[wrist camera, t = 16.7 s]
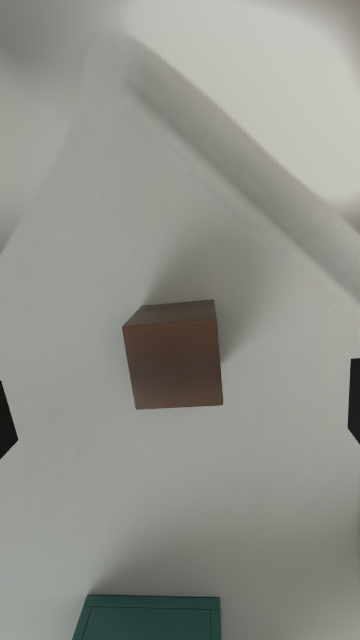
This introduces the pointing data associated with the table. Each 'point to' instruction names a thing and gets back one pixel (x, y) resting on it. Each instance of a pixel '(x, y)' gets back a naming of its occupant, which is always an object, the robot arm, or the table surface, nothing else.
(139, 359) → the block
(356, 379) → the robot arm
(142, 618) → the tin
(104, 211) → the table surface
